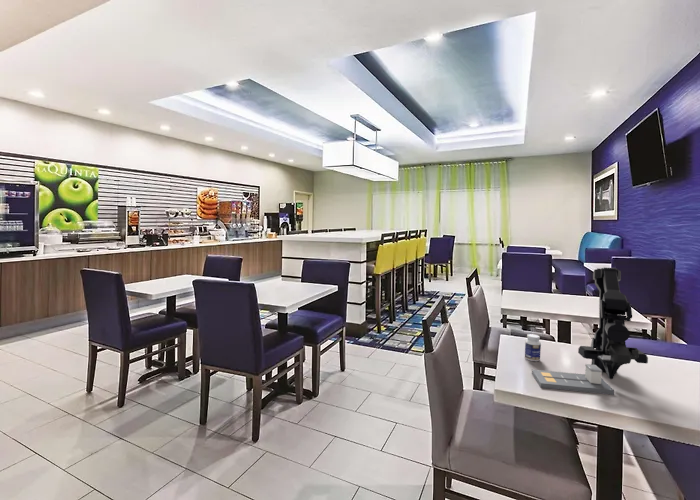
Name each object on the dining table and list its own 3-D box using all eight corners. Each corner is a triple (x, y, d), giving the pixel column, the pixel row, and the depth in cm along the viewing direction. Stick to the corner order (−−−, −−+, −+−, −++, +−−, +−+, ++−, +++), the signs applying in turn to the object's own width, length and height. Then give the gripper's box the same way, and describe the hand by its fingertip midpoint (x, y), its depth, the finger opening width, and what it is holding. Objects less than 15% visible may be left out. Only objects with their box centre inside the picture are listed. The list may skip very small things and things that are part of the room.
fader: (594, 377, 127) (595, 364, 126) (601, 384, 122) (602, 370, 121) (584, 376, 127) (585, 364, 127) (590, 383, 122) (591, 369, 122)
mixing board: (598, 379, 130) (598, 375, 129) (614, 394, 118) (614, 390, 118) (531, 373, 135) (531, 369, 135) (540, 387, 123) (540, 382, 123)
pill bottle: (534, 362, 145) (535, 338, 145) (521, 358, 150) (522, 334, 150) (543, 360, 148) (544, 336, 147) (530, 355, 153) (531, 332, 152)
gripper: (592, 339, 116) (589, 385, 118) (659, 343, 112) (656, 392, 113) (578, 329, 127) (576, 372, 128) (639, 333, 123) (637, 377, 124)
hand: (610, 378), depth 123 cm, fingers closed
